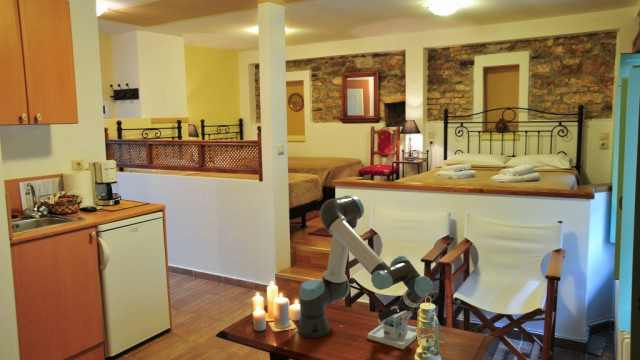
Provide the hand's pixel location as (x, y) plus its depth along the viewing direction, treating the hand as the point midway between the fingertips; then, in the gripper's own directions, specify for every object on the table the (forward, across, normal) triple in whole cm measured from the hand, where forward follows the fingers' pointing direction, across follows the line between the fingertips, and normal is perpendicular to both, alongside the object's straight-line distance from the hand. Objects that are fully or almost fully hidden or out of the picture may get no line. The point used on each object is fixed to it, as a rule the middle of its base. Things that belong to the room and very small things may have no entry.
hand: (392, 319), depth 228 cm
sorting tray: (+4, 0, -6) cm, 7 cm away
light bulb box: (+3, 0, -6) cm, 7 cm away
